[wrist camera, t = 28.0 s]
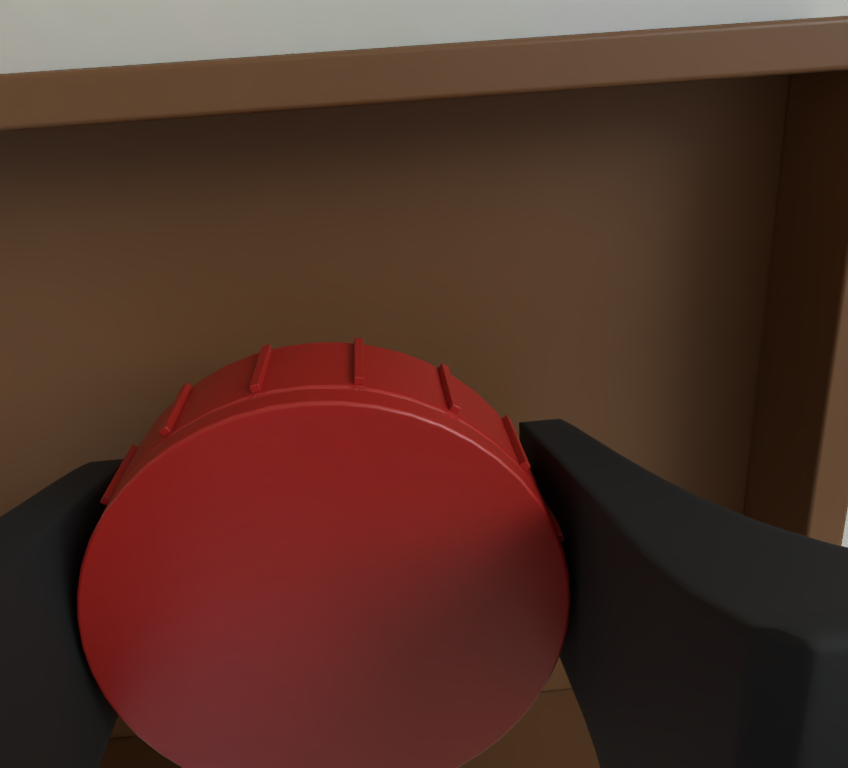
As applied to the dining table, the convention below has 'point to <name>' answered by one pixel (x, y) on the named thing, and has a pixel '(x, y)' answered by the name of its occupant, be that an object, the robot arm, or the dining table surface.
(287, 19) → the dining table surface
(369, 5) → the dining table surface
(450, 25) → the dining table surface
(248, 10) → the dining table surface
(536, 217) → the tray
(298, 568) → the jar lid
